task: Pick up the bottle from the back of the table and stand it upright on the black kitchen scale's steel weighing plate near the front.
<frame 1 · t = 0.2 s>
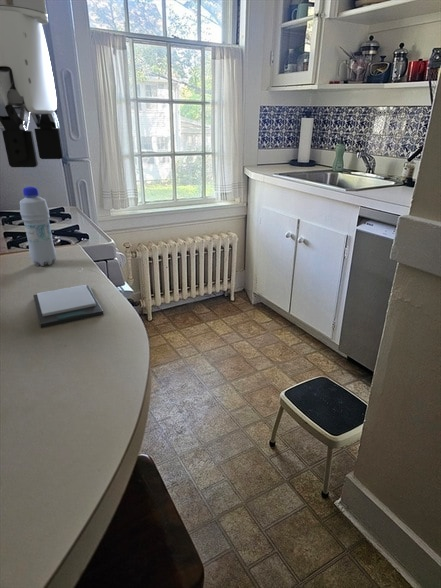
hand: (39, 162, 51), 30 cm above the table, tool pointing down, fingers open, 9 cm apart
scale: (68, 313, 78), on the table
bottle: (44, 263, 104), on the table
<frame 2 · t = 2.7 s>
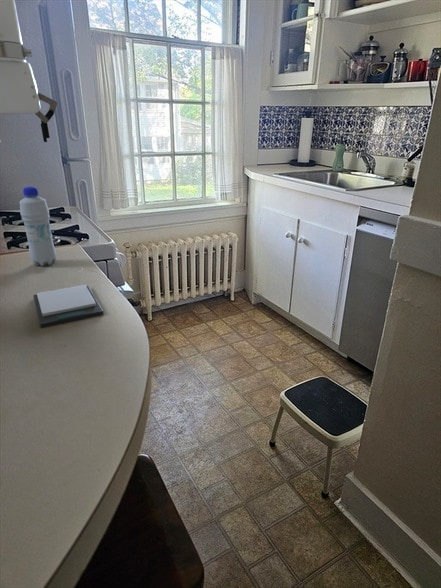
hand: (22, 142, 89), 30 cm above the table, tool pointing down, fingers open, 9 cm apart
nothing on the table moved.
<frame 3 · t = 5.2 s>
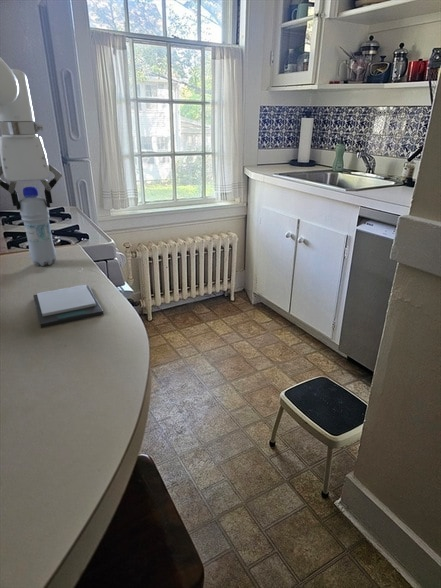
hand: (33, 206, 98), 15 cm above the table, tool pointing down, fingers closed on bottle, 6 cm apart
bottle: (44, 263, 104), on the table, touching gripper
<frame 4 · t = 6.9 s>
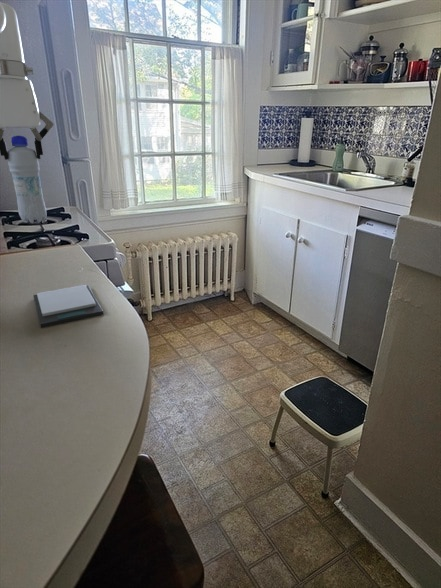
hand: (23, 158, 92), 27 cm above the table, tool pointing down, fingers closed on bottle, 6 cm apart
bottle: (34, 221, 99), point 12 cm above the table, touching gripper
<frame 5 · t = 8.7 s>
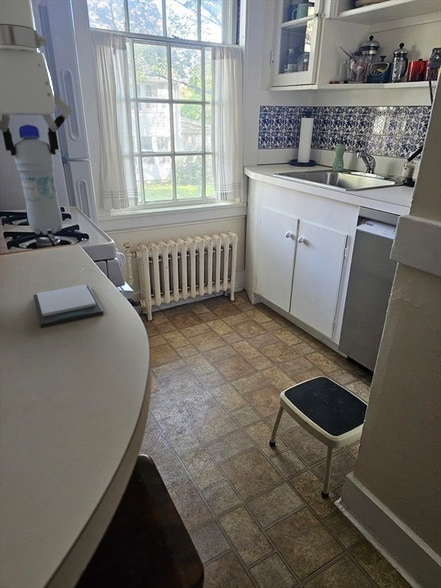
hand: (33, 153, 74), 29 cm above the table, tool pointing down, fingers closed on bottle, 6 cm apart
bottle: (47, 232, 80), point 14 cm above the table, touching gripper
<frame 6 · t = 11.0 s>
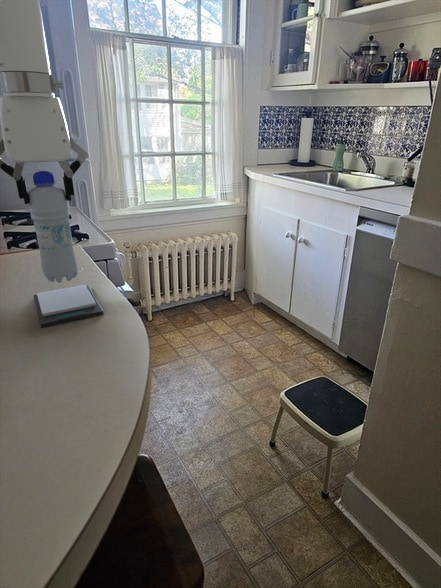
hand: (48, 200, 70), 22 cm above the table, tool pointing down, fingers closed on bottle, 6 cm apart
bottle: (62, 279, 76), point 7 cm above the table, touching gripper
when the fingers open (18 cm above the table, at t = 12.6 s): bottle stays where it is, resting on scale.
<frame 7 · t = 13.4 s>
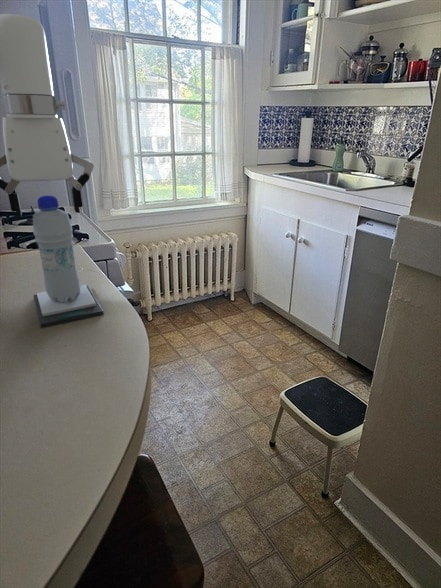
hand: (49, 213, 70), 20 cm above the table, tool pointing down, fingers open, 9 cm apart
bottle: (65, 298, 78), point 3 cm above the table, touching scale
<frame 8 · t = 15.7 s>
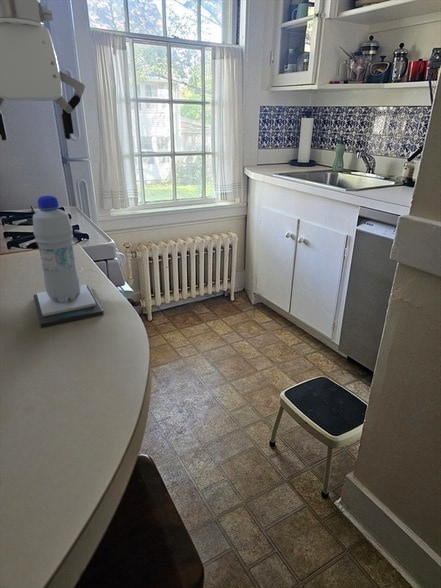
hand: (37, 139, 65), 32 cm above the table, tool pointing down, fingers open, 9 cm apart
nothing on the table moved.
at the end: bottle inside the target area on the scale (0.1 cm from its centre), point 2.8 cm above the scale's base; bottle tilted 0°; the gripper is holding nothing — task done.
